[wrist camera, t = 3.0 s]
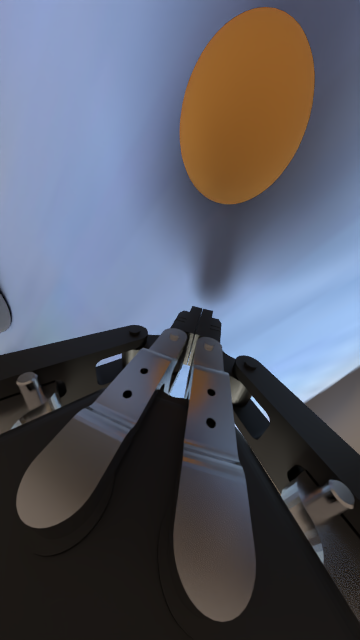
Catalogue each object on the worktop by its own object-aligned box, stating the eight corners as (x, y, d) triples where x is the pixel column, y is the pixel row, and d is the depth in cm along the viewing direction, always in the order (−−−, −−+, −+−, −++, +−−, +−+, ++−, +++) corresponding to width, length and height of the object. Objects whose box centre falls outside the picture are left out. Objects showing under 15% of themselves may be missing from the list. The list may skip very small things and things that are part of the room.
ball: (205, 223, 11) (192, 218, 7) (178, 126, 9) (137, 33, 5) (292, 185, 9) (351, 144, 5) (280, 55, 7) (357, -191, 3)
